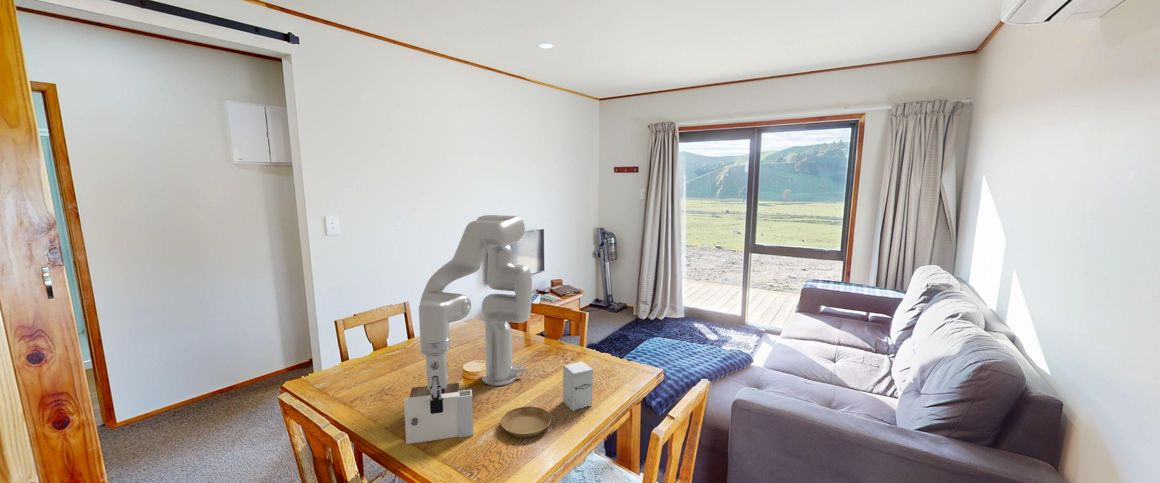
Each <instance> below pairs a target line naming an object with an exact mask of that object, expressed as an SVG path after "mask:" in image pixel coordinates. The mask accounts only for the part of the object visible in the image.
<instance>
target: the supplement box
mask: <svg viewBox="0 0 1160 483" xmlns="http://www.w3.org/2000/svg"><path fill="white" fill-rule="evenodd" d="M593 370H594V369H593V368H592V367H591V366H590V365H588V364H586V363H585V362H584V361H579V362H574V363H568V364H564V365H563V366H562V371H563V372H562V402H563V403H564V404H565V405H566V406H567V407H568V409H570V410H571V411H572V412H574V411H577V410H581V409H585V408H588V407H587V406H589V407H592V406H593V387H594V386H593V380H594V374H593V372H594V371H593ZM591 405H592V406H591ZM584 407H585V408H584ZM580 408H581V409H580Z"/></svg>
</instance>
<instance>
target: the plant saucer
mask: <svg viewBox="0 0 1160 483" xmlns="http://www.w3.org/2000/svg"><path fill="white" fill-rule="evenodd" d="M551 422H552V415H551V413H550V412H549V411H548V410H546V409H544V408H541V407H538V406H521V407H520V406H519V407H517V408H513V409H511V410H509V411H507V412H506V413H504V415H503V416H502V417H501V419H500V424H501V425H500V426H501V428H503V429H504V431H506V432H507V433H509V434H510V435H511V436H514V437H516V438H517V437H518V438H531V437H536V436H538V435H540V434H541V433H543V432H544V431H545V430H547V428H548V427H549V426H550V424H551Z"/></svg>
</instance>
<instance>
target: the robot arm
mask: <svg viewBox="0 0 1160 483" xmlns="http://www.w3.org/2000/svg"><path fill="white" fill-rule="evenodd" d="M525 229H526V227H525V223H524V220H523V219H522V217H520V216H518V215H499V214H498V215H497V214H488V215H481V216H478V217H477V218H476V220H472V221H470V222H469V223H467V225H466V227H465V229H464V231H463V233H462V236H461V238H460V240H459V243H458V245H457V248H456V249H455V250H456V251H455V252H454V254H453V255H454V256H453V258H452V259H451V260H449V261H448V262H446V263H444V264H443V266H441V267H440V268H438V269H437V270H436V271H435V272H434V273H433V274H432V275H431V276H430V278H428V279H429V280H428V281H427V282H426V285H425V287H424V290H423V292H422V295H421V297H420V302H419V306H418V320H419V321H418V322H419V340H420V341H419V343H420V353H421V354H422V355H423V356H425V367H426V368H425V369H426V384H427V386H428V390H430V391H431V396H430V413H431V414H435V413H442V412H443V398H442V394H445V391H444V389H446V388H447V384H448V379H449V377H448V376H449V374H448V356H447V352H449V351H450V350H451V345H450V324H451V323H455V322H457V321H461V320H463V319H465V318H466V317H467V316H469V314H470V312H471V308H472V302H471V300H470V298H469V297H468V296H466V295H464V294H462V293H456V292H454V293H453V292H445V291H444V290H445V288H446V287H448V286H449V285H450V284H451V283H453V282H454V281H457V280H459V279H461V278H464V277H467V276H470V275H473V274H474V273H476V272H478V271H479V270H480V268H481V266H482V262H483V259H484V257H485V255H486V252H487V276H486V280H487V285H488V287H489V288H490V289H491V290H495V291H504V292H505V291H506V292H514V294H507V293H506V294H505V293H489V294H488V295H486V296H485V297H484V298H483V299H482V302H481V312H482V318H483V321H484V322H483V323H484V335H485V336H484V337H485V338H484V340H485V342H484V343H485V346H484V347H485V372H486V376H485V377H482V376H481V382H483V384H485V385H489V386H493V387H494V386H495V387H497V386H499V387H500V386H505V385H509V384H511V383H513V382H515V381H516V379H517V378H518V377H517V376H518V374H520V373H522V374H523V373H526V367H525V366H523V367H522V365H515V364H514V362H513V332H512V327H511V325H510V323H519V324H522V323H525V322H527V321H528V320H529V319H530V315H531V310H532V290H533V288H532V286H533V281H532V280H533V279H532V278H533V276H532V273H531V270H530V268H529V267H528V266H526V265H523V264H513V251H512V246H511V245H514V244H515V243H518V241H520V240H521V239H522V238H523V236H524V234H525Z"/></svg>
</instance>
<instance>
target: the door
mask: <svg viewBox="0 0 1160 483" xmlns="http://www.w3.org/2000/svg"><path fill="white" fill-rule="evenodd" d="M430 396H431V395H428V396H420V397H411V398H409V397H406V398H404V402H403V406H404V407H403V408H404V424H405V425H404V426H405V445H409V444H418V443H423V442H430V441H436V440H444V439H452V438H457V437H458V438H465V437H471V436H472V437H473V436H474V416H473V414H474V409H473V389H465V390H464V389H463V390H459V391H458V392H454V393H445V394H442V398H443V412H442V413H435V414H431V413H430Z"/></svg>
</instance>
